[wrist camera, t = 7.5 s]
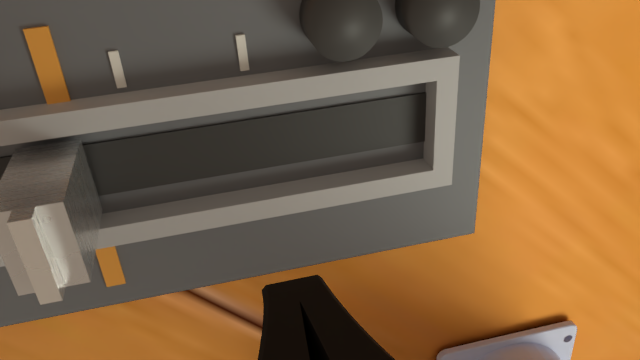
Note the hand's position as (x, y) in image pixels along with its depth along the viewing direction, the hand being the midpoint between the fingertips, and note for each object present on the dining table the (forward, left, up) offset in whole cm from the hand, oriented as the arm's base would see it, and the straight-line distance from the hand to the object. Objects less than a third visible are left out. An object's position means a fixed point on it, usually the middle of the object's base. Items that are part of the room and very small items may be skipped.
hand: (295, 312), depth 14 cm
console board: (0, +2, -10) cm, 10 cm away
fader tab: (0, +6, -8) cm, 10 cm away
